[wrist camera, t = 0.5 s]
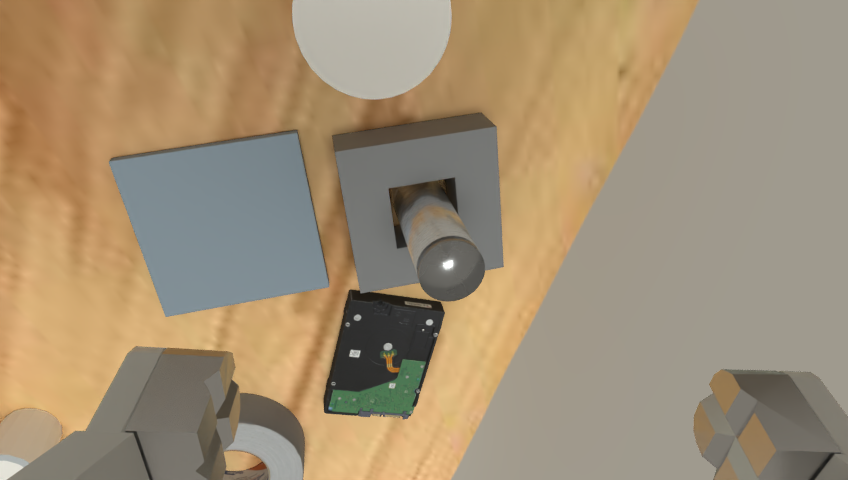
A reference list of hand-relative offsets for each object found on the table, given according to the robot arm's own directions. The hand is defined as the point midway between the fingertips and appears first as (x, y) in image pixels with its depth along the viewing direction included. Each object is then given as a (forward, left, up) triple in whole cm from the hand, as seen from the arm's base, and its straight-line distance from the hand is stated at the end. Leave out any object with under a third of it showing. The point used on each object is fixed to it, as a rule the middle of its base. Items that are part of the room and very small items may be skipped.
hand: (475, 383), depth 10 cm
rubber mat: (+15, -13, -45) cm, 50 cm away
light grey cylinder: (+34, -38, -46) cm, 68 cm away
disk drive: (+33, -1, -46) cm, 57 cm away
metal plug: (+15, +5, -45) cm, 48 cm away
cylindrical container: (-4, +1, -45) cm, 46 cm away
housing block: (+15, +5, -45) cm, 48 cm away
